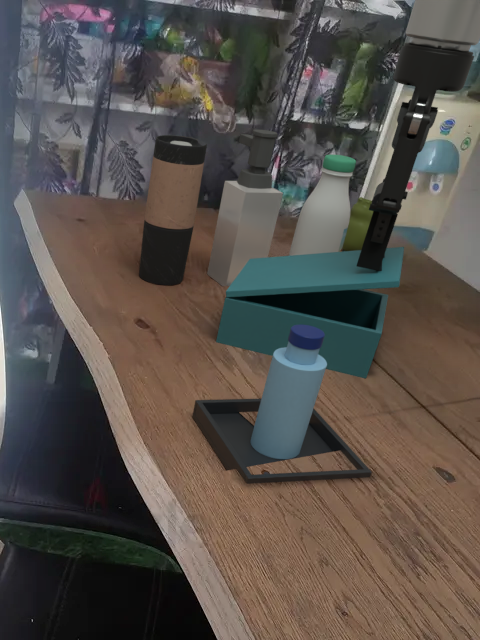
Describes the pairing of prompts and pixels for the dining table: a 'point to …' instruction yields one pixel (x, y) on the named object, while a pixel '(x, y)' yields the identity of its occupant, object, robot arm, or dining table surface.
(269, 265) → the lid
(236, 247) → the soap dispenser
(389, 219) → the robot arm
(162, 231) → the travel mug
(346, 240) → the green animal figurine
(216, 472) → the dining table surface
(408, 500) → the dining table surface
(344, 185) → the milk bottle
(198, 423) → the tray
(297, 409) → the water bottle
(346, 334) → the teal box
